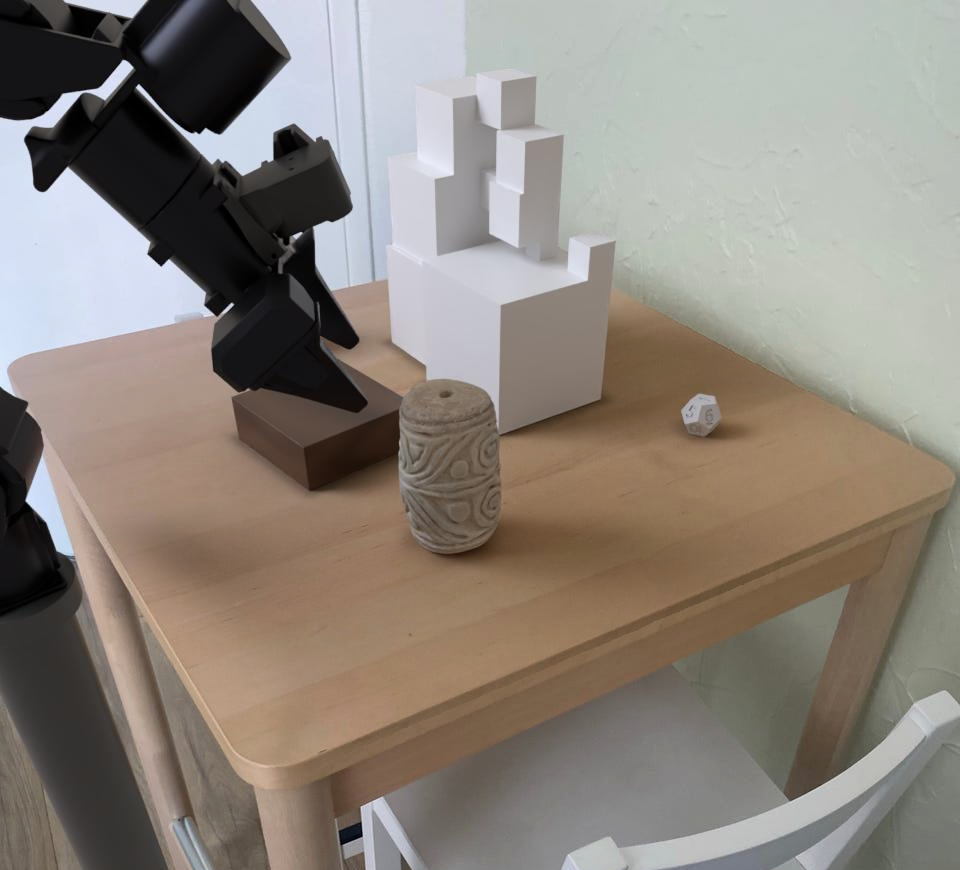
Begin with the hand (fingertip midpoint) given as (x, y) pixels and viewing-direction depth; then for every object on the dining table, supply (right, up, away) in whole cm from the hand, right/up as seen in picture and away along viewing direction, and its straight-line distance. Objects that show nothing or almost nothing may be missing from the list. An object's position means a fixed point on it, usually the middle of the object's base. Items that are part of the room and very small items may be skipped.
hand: (359, 374), depth 64 cm
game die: (+28, +1, +21) cm, 35 cm away
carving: (+6, -10, +9) cm, 15 cm away
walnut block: (-5, -1, +19) cm, 20 cm away
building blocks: (+8, +8, +29) cm, 31 cm away
